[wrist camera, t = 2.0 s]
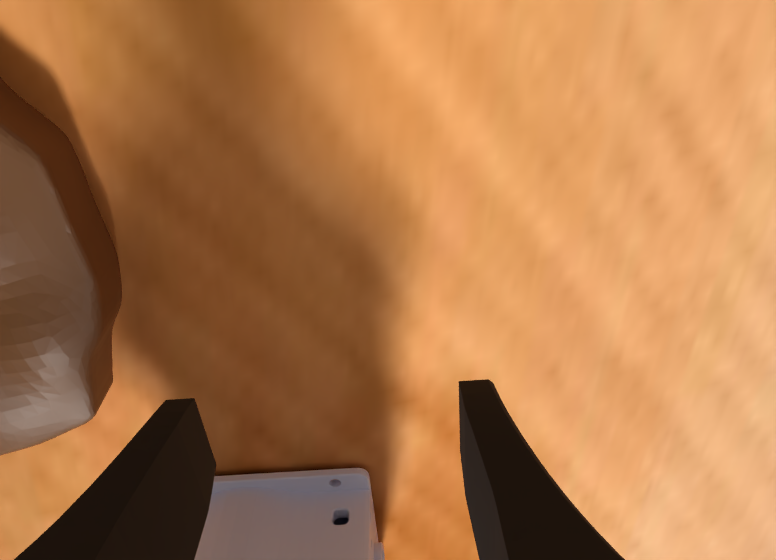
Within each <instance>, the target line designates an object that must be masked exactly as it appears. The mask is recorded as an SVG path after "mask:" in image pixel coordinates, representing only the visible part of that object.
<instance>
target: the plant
mask: <svg viewBox="0 0 776 560" xmlns="http://www.w3.org/2000/svg"><path fill="white" fill-rule="evenodd" d="M121 299H122V288H121V278H120V270H119V263H118V258H117V255H116V251H115V248H114V245H113V242H112V240H111V238H110V235H109V233H108V231H107V229H106V226H105V224H104V222H103V220H102V217H101V215H100V213H99V211H98V208H97V206H96V203H95V201H94V198H93V196H92V193H91V191H90V188H89V185H88V183H87V180H86V177H85V175H84V172H83V170H82V167H81V165H80V162H79V160H78V158H77V155H76V153H75V151H74V149H73V147H72V145H71V143H70V141H69V139H68V138H67V136H66V135H65V134H64V133H63V132H62V131H61V130H60V129H59V128H58V127H57V126H56V125H55V124H53V123H52V122H51V121H50V120H48V119H47V118H46V117H44V116H43V115H42V114H41V113H39V112H38V111H37V110H35V109H34V108H33V107H32V106H30V105H29V104H28V103H26V102H25V101H24V100H23V99H22V98H20V97H19V96H18V95H17V94H16V93H15V92H14V91H13V90H12V89H11V88H10V87H9V86H8V85H7V84H6V83H5V82H4V81H3V80H2V79H1V78H0V455H3V454H7V453H11V452H14V451H18V450H21V449H25V448H28V447H32V446H35V445H38V444H40V443H43V442H45V441H48V440H50V439H53V438H55V437H57V436H59V435H61V434H64V433H66V432H68V431H69V430H72V429H74V428H76V427H79V426H81V425H83V424H85V423H87V422H88V421H90V420H91V419H92V418H93V417H94V416H95V415H96V413H97V411H98V409H99V407H100V405H101V403H102V401H103V400H104V398H105V396H106V394H107V392H108V390H109V388H110V386H111V385H112V383H113V372H112V329H113V324H114V320H115V318H116V316H117V313H118V311H119V308H120V305H121Z"/></svg>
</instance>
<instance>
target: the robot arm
mask: <svg viewBox="0 0 776 560" xmlns="http://www.w3.org/2000/svg"><path fill="white" fill-rule="evenodd" d="M459 414H460V453H461V461H462V470H463V479H464V487H465V496H466V500H467V505H468V510H469V514H470V519H471V523H472V528H473V532H474V537H475V541H476V546H477V550H478V555H479V559H480V560H625V559H624V558H623V557H621V556H620V555H619V554H618V553H617V552H616V551H615V550H614V548H613V547H612V546H611V545H610V544H609V543H608V542H607V541H606V540H605V539H604V538H603V537H602V536H601V535H600V534H599V533H598V532H597V531H596V530H595V528H594V527H593V526H592V525H591V524H590V523H589V522H588V521H587V520H586V518H585V517H584V516H583V515H582V514H581V513H580V512H579V511H578V509H577V508H576V507H575V506H574V505H573V504H572V502H571V501H570V500H569V499H568V497H567V496H566V495H565V494H564V493H563V491H562V490H561V489H560V487H559V486H558V485H557V484H556V482H555V481H554V480H553V478H552V477H551V476H550V475H549V473H548V472H547V470H546V469H545V468H544V466H543V465H542V464H541V462H540V461H539V459H538V458H537V457H536V455H535V454H534V452H533V451H532V449H531V448H530V446H529V445H528V443H527V442H526V440H525V439H524V437H523V436H522V434H521V433H520V431H519V430H518V428H517V426H516V425H515V423H514V421H513V420H512V418H511V416H510V415H509V413H508V411H507V410H506V408H505V406H504V404H503V402H502V400H501V398H500V396H499V394H498V392H497V390H496V388H495V386H494V384H493V383H492V382H491V381H490V380H472V381H459ZM215 469H216V462H215V459H214V456H213V453H212V450H211V447H210V444H209V441H208V438H207V435H206V432H205V429H204V426H203V423H202V420H201V417H200V414H199V411H198V408H197V405H196V402H195V399H194V398H190V399H175V400H166V401H165V402H164V403H163V404H162V405H161V406H160V407H159V408H158V410H157V411H156V412H155V413H154V414H153V415H152V416H151V418H150V419H149V420H148V421H147V422H146V423H145V425H144V426H143V427H142V428H141V429H140V430H139V432H138V433H137V434H136V435H135V436H134V437H133V439H132V440H131V441H130V442H129V443H128V444H127V445H126V447H125V448H124V449H123V450H122V451H121V452H120V454H119V455H118V456H117V457H116V458H115V459H114V460H113V461H112V463H111V464H110V465H109V466H108V467H107V468H106V469H105V470H104V471H103V473H102V474H101V475H100V476H99V477H98V478H97V479H96V480H95V481H94V483H93V484H92V485H91V486H90V487H89V488H88V489H87V490H86V491H85V492H84V493H83V494H82V495H81V496H80V497H79V498H78V499H77V500H76V501H75V502H74V503H73V504H72V505H71V507H70V508H69V509H68V510H67V511H66V512H65V513H64V514H63V515H62V516H61V517H60V518H59V519H58V520H57V521H56V522H55V523H54V524H53V525H52V526H51V527H49V528H48V529H47V530H46V531H45V532H44V533H43V534H42V535H41V536H40V537H39V538H38V539H37V540H36V541H34V542H33V543H32V544H31V545H30V546H29V547H28V548H27V549H25V550H24V551H23V552H22V553H21V554H20V555H19V556H18V557H16V558H15V559H14V560H385V559H384V547H383V543H382V542H378V535H377V528H376V520H375V513H374V506H373V499H372V491H371V484H370V477H369V473H368V472H367V471H366V470H365V469H362V468H343V469H327V470H310V471H293V472H276V473H259V474H243V475H226V476H215ZM333 479H338V480H333Z"/></svg>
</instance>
